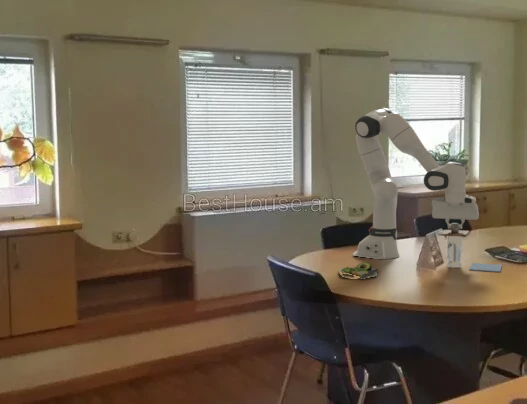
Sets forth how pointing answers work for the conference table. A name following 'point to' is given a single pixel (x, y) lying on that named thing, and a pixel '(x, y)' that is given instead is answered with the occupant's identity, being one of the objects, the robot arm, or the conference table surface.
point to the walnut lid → (454, 231)
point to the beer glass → (454, 251)
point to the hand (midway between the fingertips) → (454, 228)
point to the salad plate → (360, 270)
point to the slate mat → (485, 267)
